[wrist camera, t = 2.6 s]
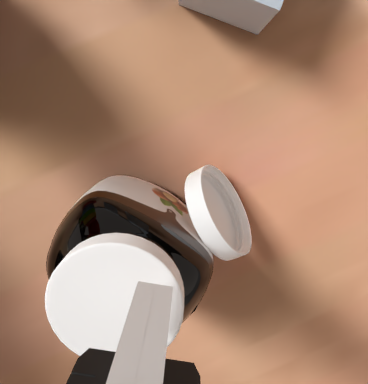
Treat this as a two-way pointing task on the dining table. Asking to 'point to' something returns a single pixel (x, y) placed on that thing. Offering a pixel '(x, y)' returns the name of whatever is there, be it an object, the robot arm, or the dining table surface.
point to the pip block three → (238, 11)
